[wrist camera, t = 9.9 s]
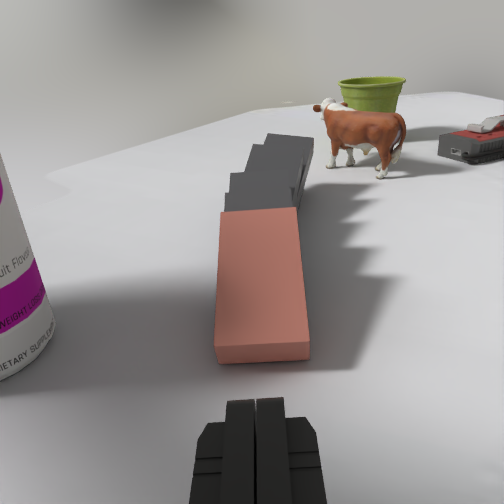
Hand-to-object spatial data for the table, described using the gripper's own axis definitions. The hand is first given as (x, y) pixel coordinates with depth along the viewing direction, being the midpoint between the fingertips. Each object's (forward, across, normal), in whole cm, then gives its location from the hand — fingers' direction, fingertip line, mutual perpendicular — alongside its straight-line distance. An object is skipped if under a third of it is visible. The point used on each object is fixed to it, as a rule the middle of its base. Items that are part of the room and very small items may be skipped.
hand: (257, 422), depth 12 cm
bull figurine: (+47, -12, +7) cm, 49 cm away
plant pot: (+61, -17, +7) cm, 63 cm away
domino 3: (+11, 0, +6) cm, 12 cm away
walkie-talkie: (+50, -33, +8) cm, 60 cm away
